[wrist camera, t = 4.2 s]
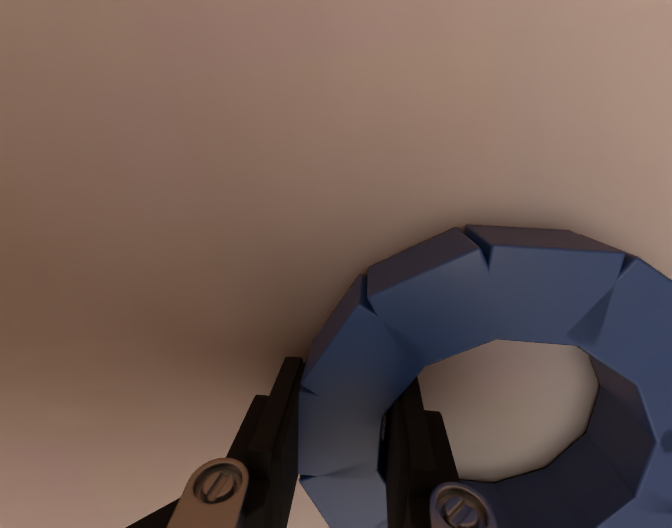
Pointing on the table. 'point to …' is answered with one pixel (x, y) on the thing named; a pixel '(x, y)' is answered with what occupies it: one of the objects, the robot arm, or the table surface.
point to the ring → (482, 327)
